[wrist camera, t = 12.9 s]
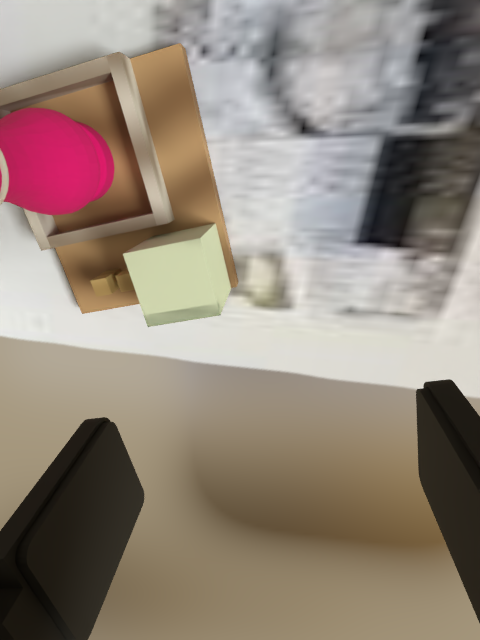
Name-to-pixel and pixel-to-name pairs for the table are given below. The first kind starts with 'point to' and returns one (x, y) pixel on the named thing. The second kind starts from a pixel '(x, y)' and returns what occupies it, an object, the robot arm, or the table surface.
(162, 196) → the stand
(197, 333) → the table surface
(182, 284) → the block
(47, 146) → the pepper mill
